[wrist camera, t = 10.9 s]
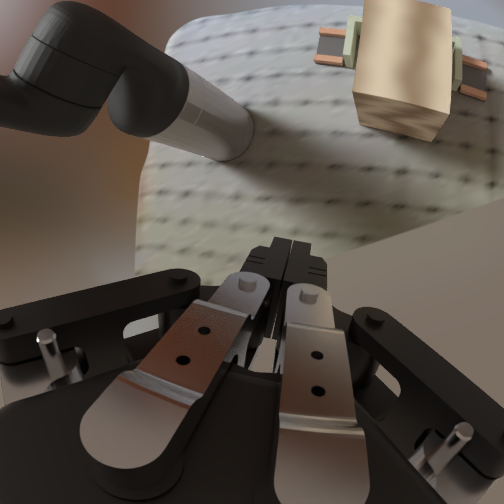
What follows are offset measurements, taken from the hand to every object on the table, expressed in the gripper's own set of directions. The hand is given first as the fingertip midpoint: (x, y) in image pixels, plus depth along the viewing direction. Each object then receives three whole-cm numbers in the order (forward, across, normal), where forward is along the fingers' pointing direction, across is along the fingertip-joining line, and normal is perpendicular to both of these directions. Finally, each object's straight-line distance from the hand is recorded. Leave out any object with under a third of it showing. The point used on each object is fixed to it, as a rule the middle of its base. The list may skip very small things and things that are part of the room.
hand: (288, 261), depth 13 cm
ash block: (+33, -11, -13) cm, 37 cm away
